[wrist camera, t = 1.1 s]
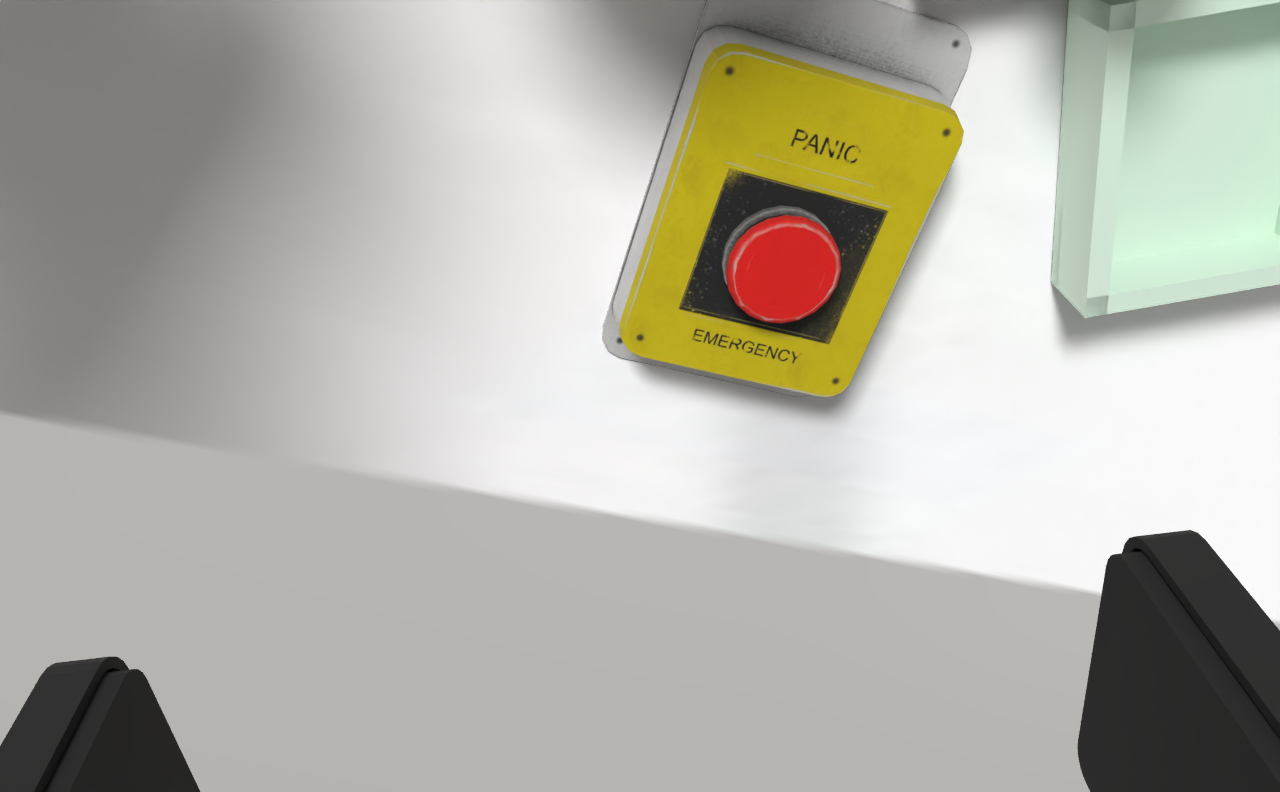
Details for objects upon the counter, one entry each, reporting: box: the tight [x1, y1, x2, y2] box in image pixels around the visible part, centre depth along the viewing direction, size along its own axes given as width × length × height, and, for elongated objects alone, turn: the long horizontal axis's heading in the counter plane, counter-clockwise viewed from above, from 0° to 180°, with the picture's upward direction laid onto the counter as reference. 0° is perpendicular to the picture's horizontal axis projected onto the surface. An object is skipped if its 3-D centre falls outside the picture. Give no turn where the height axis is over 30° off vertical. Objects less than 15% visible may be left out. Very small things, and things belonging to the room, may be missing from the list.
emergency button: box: [602, 0, 971, 397], centre depth 37 cm, size 9×4×15 cm
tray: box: [1051, 0, 1280, 318], centre depth 37 cm, size 11×9×3 cm
